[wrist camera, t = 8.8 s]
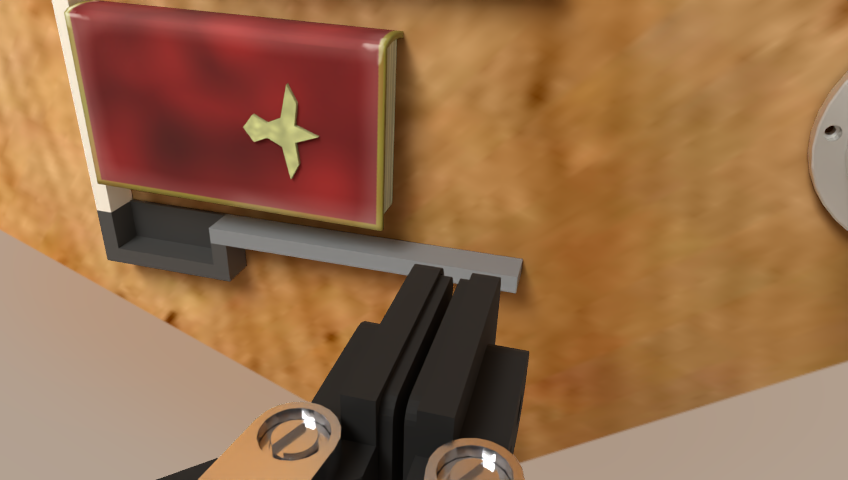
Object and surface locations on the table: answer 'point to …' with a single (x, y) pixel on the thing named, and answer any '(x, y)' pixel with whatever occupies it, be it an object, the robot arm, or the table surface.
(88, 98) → the hardcover book
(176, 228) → the grey u-shaped frame
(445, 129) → the table surface
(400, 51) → the table surface
